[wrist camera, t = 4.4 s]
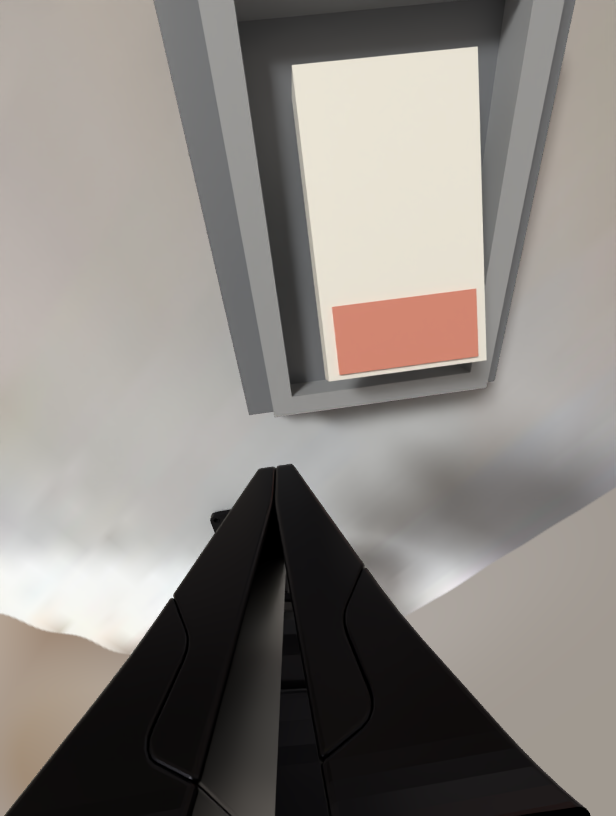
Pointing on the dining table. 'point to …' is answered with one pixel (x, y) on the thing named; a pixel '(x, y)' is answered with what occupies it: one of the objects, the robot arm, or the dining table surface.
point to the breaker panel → (281, 177)
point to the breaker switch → (394, 209)
